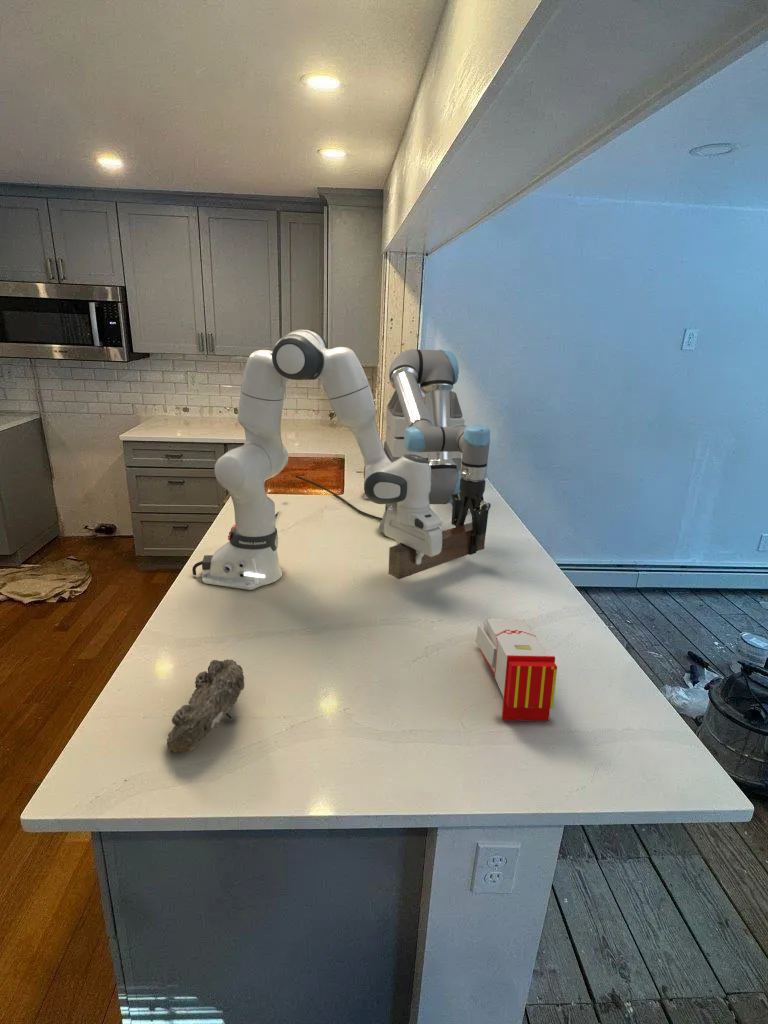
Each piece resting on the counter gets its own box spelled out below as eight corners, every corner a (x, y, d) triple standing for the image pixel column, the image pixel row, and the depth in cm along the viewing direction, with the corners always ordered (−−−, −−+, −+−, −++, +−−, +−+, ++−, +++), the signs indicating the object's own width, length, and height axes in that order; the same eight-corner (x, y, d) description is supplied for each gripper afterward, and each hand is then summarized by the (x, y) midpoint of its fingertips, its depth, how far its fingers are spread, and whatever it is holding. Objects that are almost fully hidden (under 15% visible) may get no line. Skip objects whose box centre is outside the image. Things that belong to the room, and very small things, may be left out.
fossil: (192, 660, 117) (244, 628, 112) (224, 691, 120) (276, 661, 115) (142, 746, 98) (202, 712, 93) (182, 779, 101) (242, 748, 96)
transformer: (382, 463, 289) (386, 382, 275) (445, 464, 293) (451, 384, 279) (390, 482, 257) (394, 392, 243) (460, 483, 261) (468, 394, 247)
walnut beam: (388, 573, 159) (389, 547, 156) (473, 544, 181) (475, 520, 178) (399, 579, 156) (400, 552, 153) (484, 548, 178) (486, 525, 175)
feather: (286, 506, 225) (288, 502, 225) (268, 529, 199) (271, 525, 198) (282, 503, 225) (284, 499, 225) (264, 526, 199) (267, 522, 198)
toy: (523, 604, 135) (566, 662, 106) (518, 656, 138) (559, 727, 109) (472, 603, 135) (501, 661, 105) (468, 655, 138) (496, 726, 108)
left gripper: (379, 505, 160) (377, 550, 165) (430, 527, 146) (427, 575, 151) (396, 501, 164) (394, 545, 169) (447, 522, 150) (443, 569, 154)
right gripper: (442, 473, 172) (437, 544, 180) (488, 487, 159) (480, 563, 167) (459, 470, 177) (453, 539, 184) (504, 483, 164) (496, 557, 172)
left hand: (410, 559), depth 160 cm, fingers closed on walnut beam, 4 cm apart
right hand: (466, 550), depth 176 cm, fingers closed on walnut beam, 4 cm apart
